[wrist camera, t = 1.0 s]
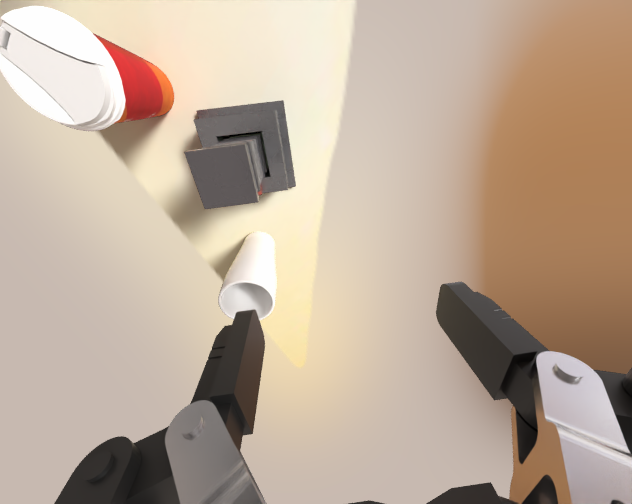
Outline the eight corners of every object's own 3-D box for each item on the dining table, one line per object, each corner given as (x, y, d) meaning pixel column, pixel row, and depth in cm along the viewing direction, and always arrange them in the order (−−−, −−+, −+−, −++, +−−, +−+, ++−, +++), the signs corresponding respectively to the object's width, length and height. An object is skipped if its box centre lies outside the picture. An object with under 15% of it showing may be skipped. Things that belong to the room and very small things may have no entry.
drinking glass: (247, 263, 43) (229, 328, 30) (234, 230, 39) (207, 287, 27) (283, 256, 43) (281, 317, 30) (273, 222, 39) (266, 274, 27)
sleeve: (224, 193, 36) (211, 210, 30) (198, 110, 31) (176, 109, 24) (295, 184, 37) (297, 198, 30) (283, 100, 31) (282, 97, 25)
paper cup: (104, 93, 29) (-28, 78, 17) (128, 30, 26) (-7, -39, 14) (168, 139, 32) (95, 154, 20) (195, 86, 29) (131, 68, 17)
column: (239, 170, 35) (205, 209, 20) (230, 135, 32) (184, 151, 18) (270, 166, 35) (258, 202, 20) (264, 131, 32) (244, 144, 18)
